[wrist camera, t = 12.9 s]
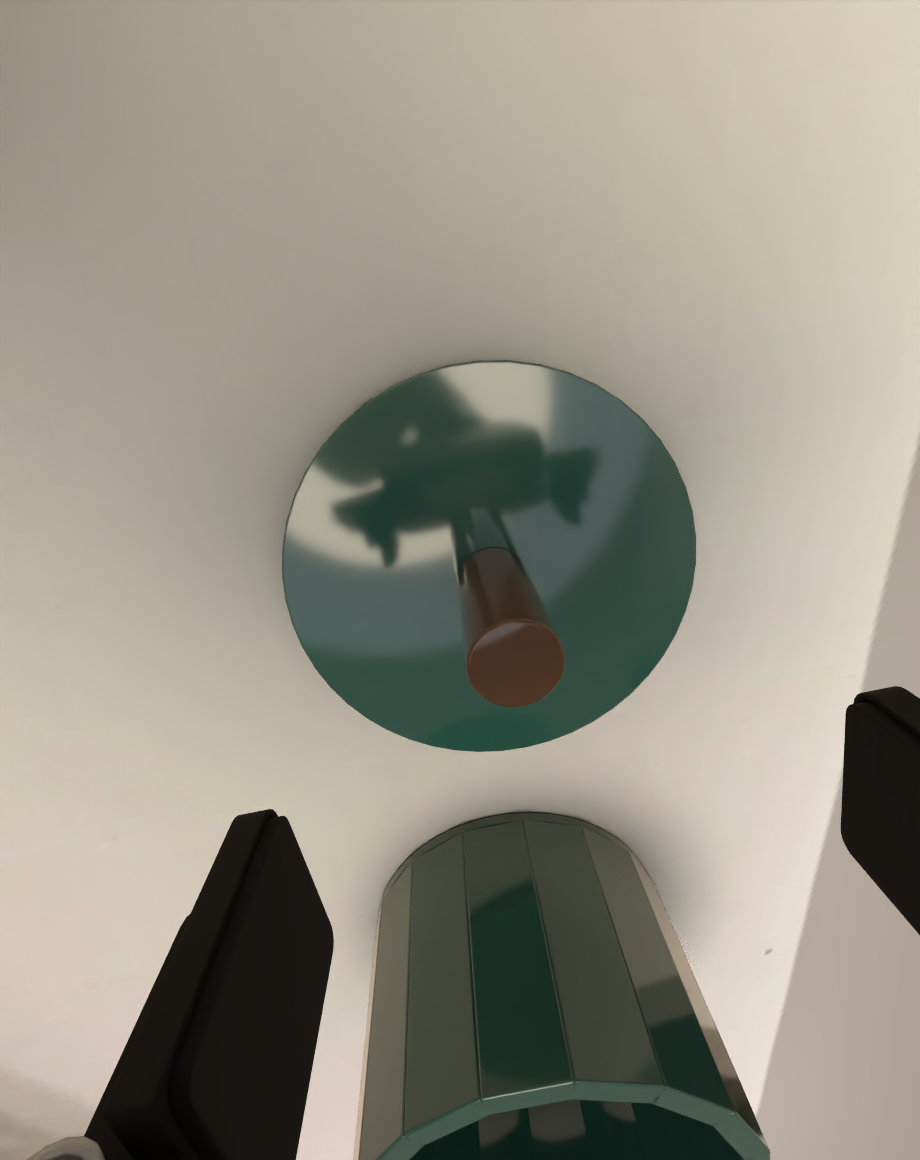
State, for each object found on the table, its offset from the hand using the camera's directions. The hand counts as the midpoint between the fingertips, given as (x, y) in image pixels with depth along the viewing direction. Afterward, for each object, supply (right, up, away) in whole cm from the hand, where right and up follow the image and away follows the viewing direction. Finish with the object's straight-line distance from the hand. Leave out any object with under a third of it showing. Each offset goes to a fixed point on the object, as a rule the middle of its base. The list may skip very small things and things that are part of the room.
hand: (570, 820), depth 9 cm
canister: (+1, -12, +16) cm, 20 cm away
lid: (-1, +4, +10) cm, 10 cm away
